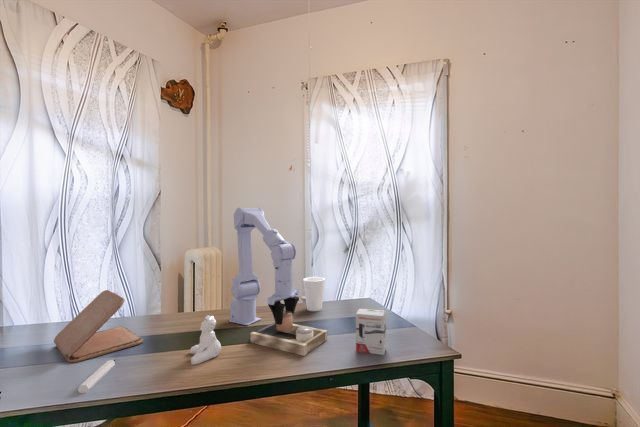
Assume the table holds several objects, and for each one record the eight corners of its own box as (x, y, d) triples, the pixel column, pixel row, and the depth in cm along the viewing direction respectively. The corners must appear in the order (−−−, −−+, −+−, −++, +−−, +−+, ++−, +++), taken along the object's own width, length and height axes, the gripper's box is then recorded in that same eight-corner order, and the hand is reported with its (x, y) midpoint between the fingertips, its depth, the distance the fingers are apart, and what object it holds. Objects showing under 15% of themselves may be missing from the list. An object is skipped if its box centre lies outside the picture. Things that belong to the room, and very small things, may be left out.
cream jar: (292, 346, 104) (292, 330, 104) (302, 340, 109) (302, 325, 109) (307, 349, 101) (307, 333, 101) (316, 343, 106) (316, 327, 106)
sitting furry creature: (190, 352, 100) (189, 313, 100) (219, 347, 104) (219, 309, 104) (191, 365, 92) (190, 322, 91) (223, 360, 95) (222, 318, 95)
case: (52, 347, 106) (51, 297, 106) (125, 329, 121) (124, 285, 121) (65, 367, 92) (64, 310, 92) (146, 344, 107) (145, 295, 107)
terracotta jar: (272, 328, 109) (272, 313, 108) (283, 323, 113) (283, 309, 113) (285, 332, 105) (284, 316, 105) (296, 326, 110) (295, 311, 110)
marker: (116, 365, 94) (84, 396, 78) (109, 362, 94) (76, 392, 78) (121, 357, 94) (90, 385, 79) (114, 354, 94) (82, 382, 78)
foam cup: (301, 311, 139) (300, 281, 139) (305, 305, 148) (305, 276, 148) (323, 312, 138) (323, 281, 138) (326, 306, 147) (326, 277, 147)
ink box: (355, 352, 99) (355, 312, 99) (358, 345, 104) (358, 308, 104) (384, 355, 97) (384, 315, 97) (386, 348, 101) (385, 310, 101)
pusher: (250, 339, 110) (250, 329, 110) (270, 329, 119) (270, 319, 119) (260, 341, 108) (260, 331, 108) (279, 331, 117) (279, 321, 117)
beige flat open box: (250, 342, 107) (250, 333, 107) (277, 328, 119) (277, 320, 119) (304, 355, 97) (304, 345, 97) (327, 339, 109) (327, 330, 109)
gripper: (280, 285, 101) (280, 330, 101) (305, 277, 113) (306, 316, 113) (262, 283, 104) (262, 326, 104) (289, 275, 117) (289, 313, 117)
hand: (284, 321), depth 109 cm, fingers closed on terracotta jar, 5 cm apart
